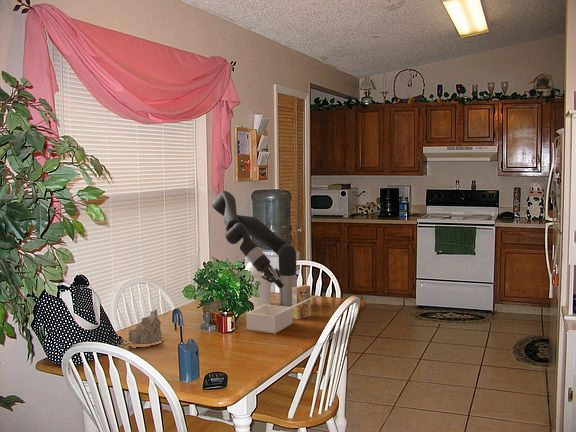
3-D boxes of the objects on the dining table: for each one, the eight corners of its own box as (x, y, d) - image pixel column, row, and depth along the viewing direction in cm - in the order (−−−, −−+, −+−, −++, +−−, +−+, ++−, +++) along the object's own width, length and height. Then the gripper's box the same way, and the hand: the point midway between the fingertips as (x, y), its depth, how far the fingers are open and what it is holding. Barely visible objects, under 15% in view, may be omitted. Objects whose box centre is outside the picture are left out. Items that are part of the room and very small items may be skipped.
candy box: (305, 314, 292) (305, 284, 290) (311, 316, 288) (310, 285, 287) (292, 318, 286) (291, 287, 284) (297, 319, 283) (296, 288, 281)
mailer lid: (274, 315, 260) (300, 303, 253) (292, 306, 275) (317, 294, 268) (275, 316, 260) (301, 304, 253) (292, 307, 275) (317, 295, 268)
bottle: (241, 306, 311) (239, 254, 308) (265, 303, 317) (263, 252, 314) (250, 312, 298) (248, 258, 295) (275, 308, 304) (273, 256, 301)
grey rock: (159, 333, 266) (156, 302, 264) (167, 345, 251) (163, 312, 249) (125, 341, 260) (121, 309, 258) (130, 353, 245) (126, 319, 243)
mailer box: (246, 330, 268) (246, 313, 268) (265, 320, 283) (264, 304, 282) (275, 333, 261) (274, 316, 260) (292, 323, 276) (292, 307, 275)
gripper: (260, 261, 278) (283, 289, 274) (246, 267, 267) (270, 295, 262) (270, 251, 275) (293, 279, 271) (255, 256, 264) (280, 285, 259)
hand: (282, 287), depth 267 cm, fingers closed
